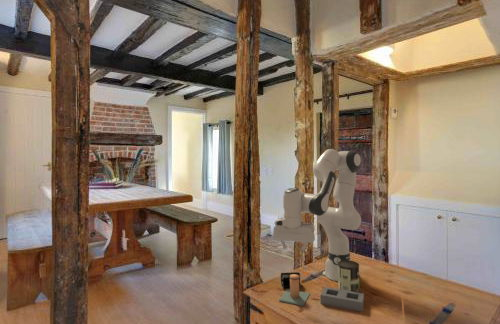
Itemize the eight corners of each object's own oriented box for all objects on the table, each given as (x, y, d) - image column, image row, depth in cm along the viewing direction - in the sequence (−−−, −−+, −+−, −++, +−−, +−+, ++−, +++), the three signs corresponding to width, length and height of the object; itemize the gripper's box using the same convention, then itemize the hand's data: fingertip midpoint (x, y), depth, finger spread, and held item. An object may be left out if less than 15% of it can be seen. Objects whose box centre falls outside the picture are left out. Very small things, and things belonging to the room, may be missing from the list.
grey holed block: (324, 296, 141) (324, 286, 141) (364, 304, 133) (363, 293, 133) (320, 305, 133) (320, 294, 133) (362, 313, 125) (362, 302, 125)
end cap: (299, 282, 158) (298, 270, 157) (301, 288, 150) (300, 275, 150) (280, 283, 158) (280, 270, 158) (282, 289, 151) (281, 276, 150)
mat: (287, 290, 149) (287, 288, 149) (310, 294, 143) (310, 293, 143) (279, 301, 138) (279, 299, 138) (303, 306, 133) (303, 304, 133)
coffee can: (357, 287, 150) (357, 260, 150) (361, 296, 140) (360, 268, 140) (337, 286, 152) (336, 259, 152) (339, 295, 142) (338, 267, 142)
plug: (291, 293, 144) (291, 273, 143) (300, 295, 142) (300, 274, 141) (289, 297, 140) (288, 277, 139) (298, 299, 138) (297, 278, 137)
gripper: (315, 221, 139) (316, 249, 139) (275, 218, 148) (277, 245, 148) (312, 224, 133) (313, 254, 134) (271, 221, 142) (272, 249, 142)
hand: (294, 249), depth 141 cm, fingers open, 8 cm apart
